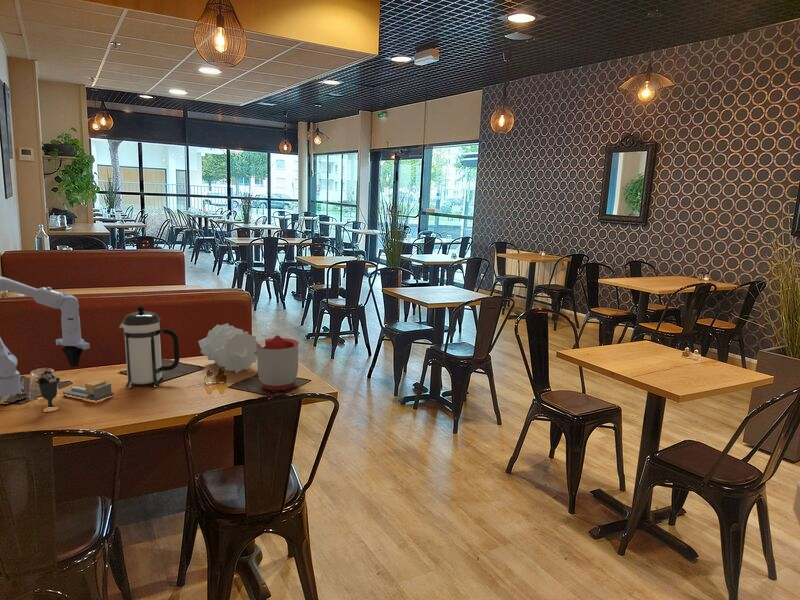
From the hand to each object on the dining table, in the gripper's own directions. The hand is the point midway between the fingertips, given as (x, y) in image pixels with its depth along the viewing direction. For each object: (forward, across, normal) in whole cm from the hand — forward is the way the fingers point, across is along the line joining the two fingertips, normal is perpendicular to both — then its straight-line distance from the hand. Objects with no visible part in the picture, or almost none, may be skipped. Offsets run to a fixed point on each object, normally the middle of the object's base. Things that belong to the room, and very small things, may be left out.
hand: (74, 366), depth 201 cm
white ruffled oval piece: (+10, -30, -48) cm, 57 cm away
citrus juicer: (+10, -61, -36) cm, 71 cm away
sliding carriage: (+8, -13, +2) cm, 15 cm away
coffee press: (+10, -16, -18) cm, 26 cm away
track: (+9, -8, +2) cm, 13 cm away
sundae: (+10, -8, +16) cm, 20 cm away
